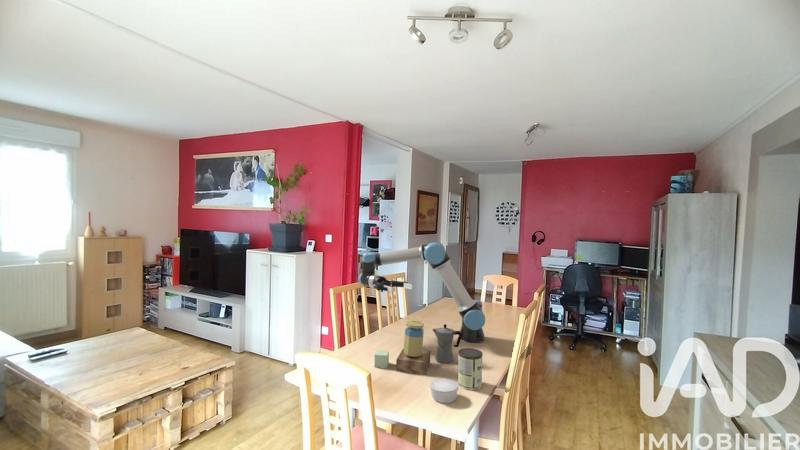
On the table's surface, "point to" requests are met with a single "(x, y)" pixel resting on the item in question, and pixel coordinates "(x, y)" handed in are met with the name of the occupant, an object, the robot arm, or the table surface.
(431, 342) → the table surface
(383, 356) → the sage cube
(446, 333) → the coffeepot
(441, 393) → the ramekin
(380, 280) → the robot arm
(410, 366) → the walnut block
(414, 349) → the jar
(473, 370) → the coffee can
